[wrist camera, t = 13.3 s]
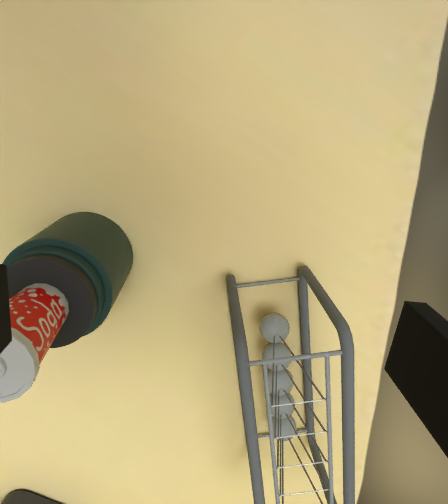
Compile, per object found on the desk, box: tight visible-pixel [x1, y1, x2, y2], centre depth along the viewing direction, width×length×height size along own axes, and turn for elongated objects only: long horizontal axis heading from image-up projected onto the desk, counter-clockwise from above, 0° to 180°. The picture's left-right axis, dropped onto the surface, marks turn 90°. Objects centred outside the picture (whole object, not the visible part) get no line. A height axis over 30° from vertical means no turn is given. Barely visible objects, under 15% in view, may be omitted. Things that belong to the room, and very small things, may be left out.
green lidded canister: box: [3, 212, 133, 348], centre depth 41 cm, size 11×11×14 cm
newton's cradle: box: [226, 265, 355, 504], centre depth 45 cm, size 30×10×18 cm, turn 7°
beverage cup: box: [0, 283, 69, 402], centre depth 28 cm, size 6×6×14 cm
